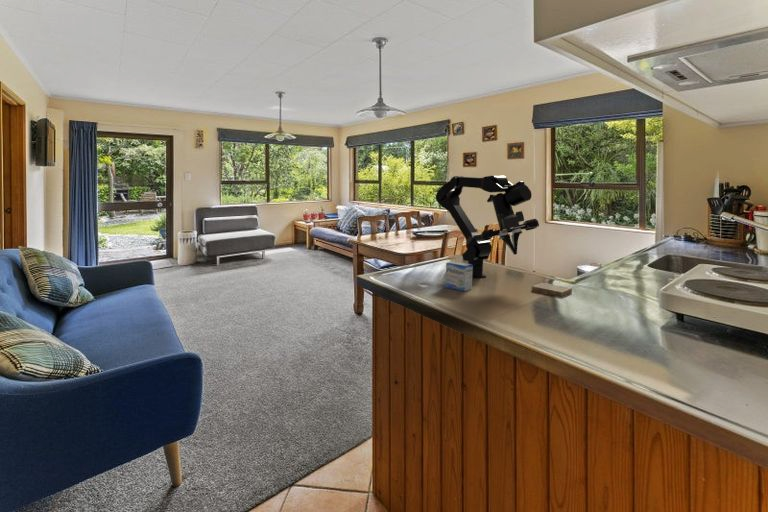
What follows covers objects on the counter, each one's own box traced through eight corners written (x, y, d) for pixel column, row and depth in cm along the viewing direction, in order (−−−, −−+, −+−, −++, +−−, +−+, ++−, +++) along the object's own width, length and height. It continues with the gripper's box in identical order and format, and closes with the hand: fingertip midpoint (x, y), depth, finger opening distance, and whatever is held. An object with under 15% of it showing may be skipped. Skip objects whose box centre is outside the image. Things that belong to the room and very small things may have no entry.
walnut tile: (531, 286, 134) (562, 292, 127) (542, 282, 139) (572, 288, 131) (531, 292, 134) (561, 298, 127) (542, 288, 139) (571, 294, 132)
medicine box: (444, 287, 139) (445, 262, 137) (452, 285, 142) (452, 260, 140) (464, 291, 133) (465, 265, 132) (472, 289, 136) (473, 263, 135)
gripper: (478, 212, 134) (490, 258, 132) (536, 198, 131) (549, 245, 129) (476, 218, 145) (487, 261, 143) (529, 205, 142) (541, 249, 140)
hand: (515, 254), depth 139 cm, fingers closed
